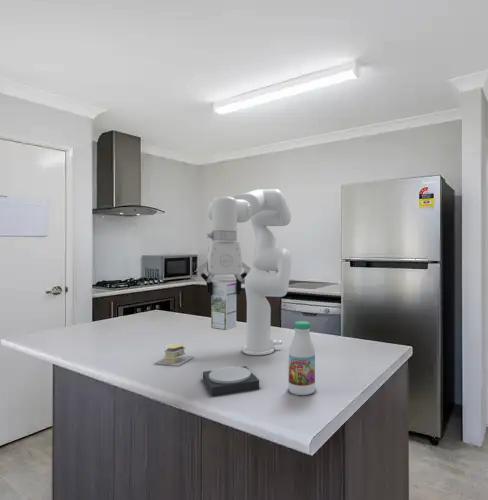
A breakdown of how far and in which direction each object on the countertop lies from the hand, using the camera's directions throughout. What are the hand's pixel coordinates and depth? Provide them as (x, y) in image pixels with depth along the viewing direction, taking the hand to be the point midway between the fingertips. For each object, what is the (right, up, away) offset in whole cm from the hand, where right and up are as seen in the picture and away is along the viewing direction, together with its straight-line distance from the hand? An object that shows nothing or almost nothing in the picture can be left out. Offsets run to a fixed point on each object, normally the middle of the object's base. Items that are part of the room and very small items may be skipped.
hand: (224, 294), depth 113 cm
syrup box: (0, -11, 0) cm, 11 cm away
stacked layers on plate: (-22, -27, +21) cm, 41 cm away
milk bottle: (+24, -28, -6) cm, 37 cm away
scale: (+2, -27, -1) cm, 27 cm away
